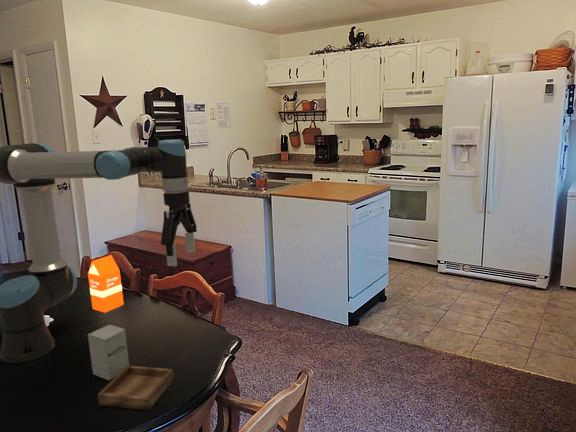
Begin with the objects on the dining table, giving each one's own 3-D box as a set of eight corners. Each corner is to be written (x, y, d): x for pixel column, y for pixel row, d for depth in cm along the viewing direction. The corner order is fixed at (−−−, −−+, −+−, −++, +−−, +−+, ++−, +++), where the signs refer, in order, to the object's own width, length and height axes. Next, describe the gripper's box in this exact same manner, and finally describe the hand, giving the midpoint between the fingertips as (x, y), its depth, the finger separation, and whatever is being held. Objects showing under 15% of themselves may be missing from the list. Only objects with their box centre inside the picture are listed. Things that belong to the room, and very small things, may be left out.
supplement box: (109, 381, 127) (103, 339, 124) (92, 374, 131) (86, 333, 128) (130, 368, 133) (125, 328, 130) (114, 362, 137) (109, 323, 134)
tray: (98, 405, 116) (97, 394, 116) (128, 375, 130) (127, 365, 129) (149, 410, 113) (147, 399, 113) (174, 379, 127) (173, 369, 126)
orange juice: (124, 304, 181) (118, 256, 176) (104, 312, 173) (98, 262, 169) (111, 301, 185) (105, 253, 181) (92, 308, 177) (85, 259, 173)
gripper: (168, 198, 125) (175, 272, 130) (203, 185, 149) (208, 247, 153) (143, 198, 127) (151, 271, 131) (182, 185, 150) (187, 247, 155)
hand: (182, 258), depth 142 cm, fingers open, 13 cm apart
